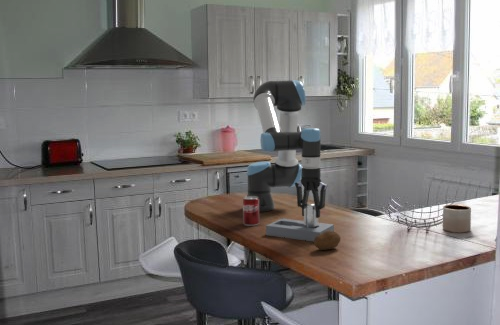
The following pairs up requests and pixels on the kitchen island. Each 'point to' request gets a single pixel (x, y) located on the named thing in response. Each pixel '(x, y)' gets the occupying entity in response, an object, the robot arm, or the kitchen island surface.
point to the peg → (310, 215)
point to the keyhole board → (296, 229)
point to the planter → (456, 218)
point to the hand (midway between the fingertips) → (311, 224)
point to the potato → (327, 240)
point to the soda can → (251, 211)
